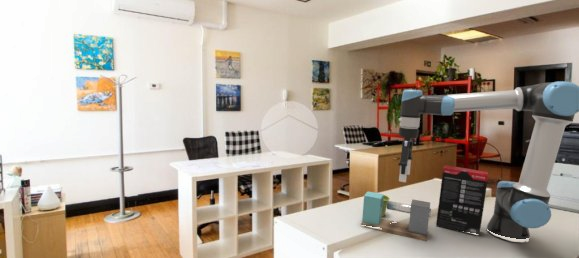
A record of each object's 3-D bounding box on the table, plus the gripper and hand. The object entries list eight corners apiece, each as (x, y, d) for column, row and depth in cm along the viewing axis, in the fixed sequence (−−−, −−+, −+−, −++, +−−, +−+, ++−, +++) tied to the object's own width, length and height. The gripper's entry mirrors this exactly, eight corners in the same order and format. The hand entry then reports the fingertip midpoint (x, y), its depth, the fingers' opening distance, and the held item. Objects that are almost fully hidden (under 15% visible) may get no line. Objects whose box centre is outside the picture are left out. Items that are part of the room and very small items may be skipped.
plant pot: (365, 215, 150) (367, 197, 149) (370, 209, 158) (371, 192, 157) (385, 220, 145) (387, 201, 144) (389, 213, 154) (391, 196, 153)
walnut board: (427, 231, 135) (427, 228, 135) (426, 241, 126) (426, 237, 126) (365, 218, 146) (366, 215, 146) (361, 226, 137) (361, 223, 137)
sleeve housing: (427, 229, 134) (430, 202, 132) (426, 236, 127) (429, 207, 126) (409, 225, 137) (412, 199, 135) (408, 232, 130) (411, 204, 129)
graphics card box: (480, 231, 138) (488, 170, 135) (480, 237, 132) (488, 173, 129) (437, 221, 147) (443, 163, 143) (435, 226, 141) (442, 166, 137)
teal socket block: (381, 219, 142) (383, 194, 140) (378, 225, 135) (380, 198, 134) (365, 216, 145) (367, 191, 143) (362, 221, 138) (364, 195, 137)
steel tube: (430, 215, 131) (431, 207, 131) (430, 218, 128) (430, 210, 128) (387, 207, 138) (388, 199, 138) (386, 210, 135) (387, 202, 135)
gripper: (403, 124, 143) (399, 170, 146) (395, 129, 121) (390, 183, 124) (421, 125, 140) (416, 172, 143) (416, 131, 118) (410, 186, 120)
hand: (404, 177), depth 133 cm, fingers open, 13 cm apart
